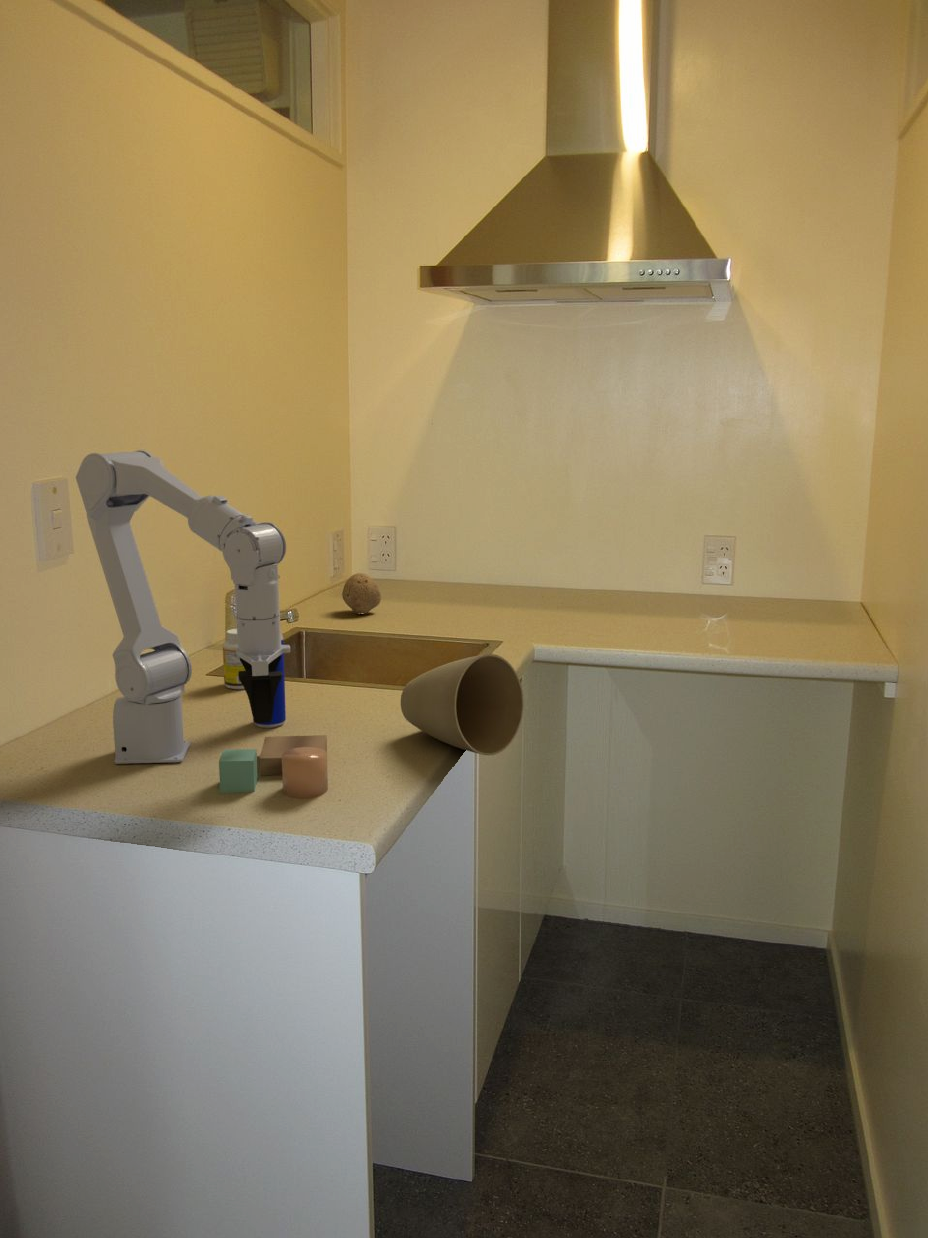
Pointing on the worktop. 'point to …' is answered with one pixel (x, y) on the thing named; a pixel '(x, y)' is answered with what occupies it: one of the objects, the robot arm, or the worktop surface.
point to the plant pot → (467, 703)
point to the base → (280, 744)
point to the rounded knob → (304, 772)
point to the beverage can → (278, 699)
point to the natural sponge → (361, 593)
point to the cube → (238, 770)
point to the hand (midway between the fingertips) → (262, 713)
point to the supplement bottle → (232, 661)
